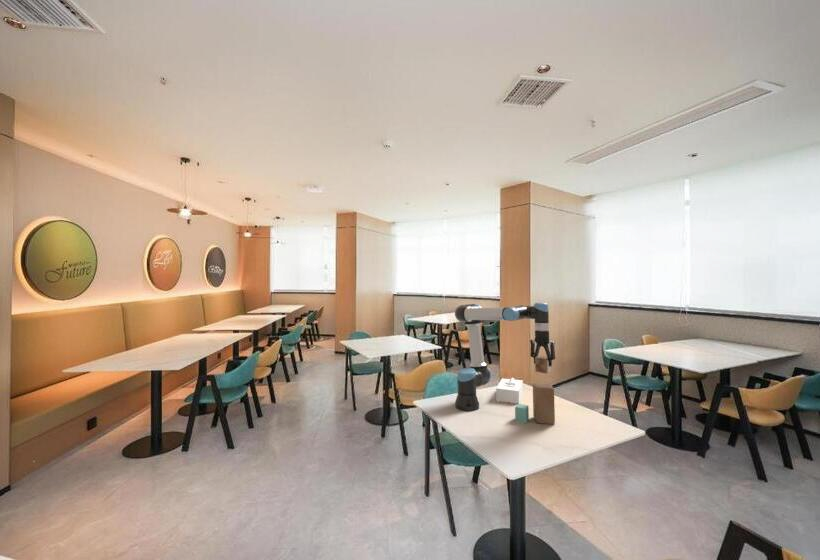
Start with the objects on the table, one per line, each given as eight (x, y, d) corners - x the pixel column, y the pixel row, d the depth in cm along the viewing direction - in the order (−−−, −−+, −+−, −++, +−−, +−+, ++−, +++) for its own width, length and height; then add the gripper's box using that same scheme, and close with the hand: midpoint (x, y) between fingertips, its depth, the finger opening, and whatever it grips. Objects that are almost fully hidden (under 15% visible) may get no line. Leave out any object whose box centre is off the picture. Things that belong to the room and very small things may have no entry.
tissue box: (496, 401, 220) (496, 384, 220) (502, 390, 243) (502, 375, 243) (519, 404, 214) (518, 387, 214) (522, 392, 237) (522, 377, 237)
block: (555, 424, 181) (554, 388, 182) (536, 423, 183) (535, 387, 184) (551, 417, 191) (550, 382, 191) (533, 416, 193) (532, 382, 193)
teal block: (515, 421, 187) (515, 406, 188) (518, 417, 193) (517, 403, 193) (526, 423, 184) (525, 408, 184) (528, 419, 189) (528, 405, 189)
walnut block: (535, 371, 188) (535, 357, 188) (540, 369, 192) (539, 355, 192) (545, 373, 183) (545, 358, 183) (550, 371, 187) (550, 357, 188)
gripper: (523, 329, 192) (524, 369, 192) (555, 332, 178) (556, 375, 178) (529, 328, 197) (530, 366, 197) (561, 330, 184) (562, 372, 183)
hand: (542, 370), depth 188 cm, fingers closed on walnut block, 6 cm apart
